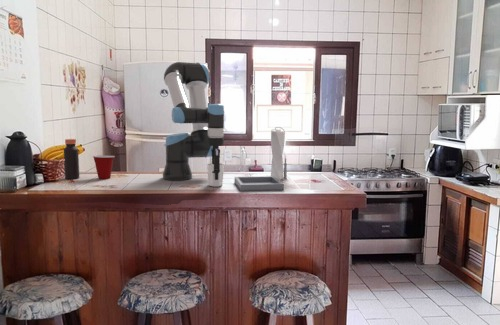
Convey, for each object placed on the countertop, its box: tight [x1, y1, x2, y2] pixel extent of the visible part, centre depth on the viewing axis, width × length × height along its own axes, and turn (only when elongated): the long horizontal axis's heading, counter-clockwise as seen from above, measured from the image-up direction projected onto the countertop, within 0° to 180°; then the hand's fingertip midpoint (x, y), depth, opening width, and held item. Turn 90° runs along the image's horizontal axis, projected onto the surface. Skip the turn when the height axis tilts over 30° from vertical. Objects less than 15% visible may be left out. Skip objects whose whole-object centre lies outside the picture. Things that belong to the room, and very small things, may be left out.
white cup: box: [206, 162, 225, 187], centre depth 197 cm, size 8×8×10 cm
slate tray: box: [234, 175, 285, 192], centre depth 196 cm, size 20×20×3 cm
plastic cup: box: [92, 154, 116, 180], centre depth 211 cm, size 11×11×12 cm
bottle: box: [63, 138, 80, 180], centre depth 209 cm, size 7×7×20 cm
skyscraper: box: [270, 126, 288, 182], centre depth 215 cm, size 8×8×28 cm
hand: (215, 184), depth 197 cm, fingers closed on white cup, 7 cm apart
